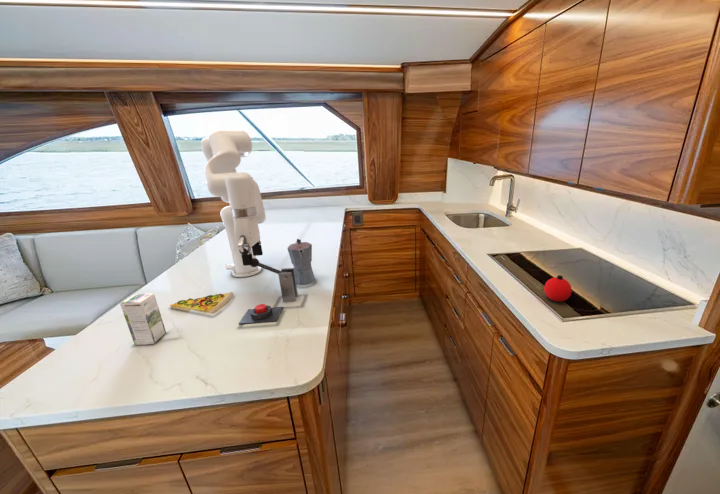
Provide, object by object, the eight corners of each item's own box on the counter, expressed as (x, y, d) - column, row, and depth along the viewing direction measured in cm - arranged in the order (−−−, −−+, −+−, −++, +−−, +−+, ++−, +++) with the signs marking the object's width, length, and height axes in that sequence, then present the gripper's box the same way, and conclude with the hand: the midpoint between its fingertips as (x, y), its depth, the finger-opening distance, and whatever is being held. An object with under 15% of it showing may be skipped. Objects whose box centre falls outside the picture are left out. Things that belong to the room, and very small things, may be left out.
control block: (239, 328, 97) (237, 318, 96) (249, 313, 105) (247, 304, 104) (277, 325, 98) (275, 315, 97) (284, 310, 106) (282, 302, 105)
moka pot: (295, 292, 119) (288, 245, 113) (290, 278, 132) (283, 235, 125) (319, 287, 123) (314, 241, 117) (311, 274, 136) (306, 232, 130)
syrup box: (148, 334, 94) (133, 293, 89) (167, 333, 95) (154, 292, 90) (134, 345, 89) (118, 303, 84) (155, 344, 89) (140, 302, 84)
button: (253, 314, 99) (252, 309, 98) (257, 308, 102) (256, 304, 101) (265, 313, 99) (264, 308, 98) (268, 307, 102) (267, 303, 102)
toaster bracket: (274, 308, 108) (268, 276, 104) (280, 296, 116) (275, 266, 112) (302, 306, 109) (297, 275, 105) (306, 295, 117) (302, 265, 113)
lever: (246, 266, 104) (249, 258, 104) (249, 263, 107) (252, 255, 107) (288, 282, 108) (291, 274, 107) (290, 278, 111) (293, 271, 110)
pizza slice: (218, 316, 104) (216, 308, 103) (156, 319, 102) (153, 312, 101) (237, 295, 118) (236, 288, 117) (183, 297, 117) (181, 290, 116)
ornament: (571, 308, 106) (576, 282, 102) (543, 303, 109) (547, 279, 105) (567, 296, 114) (572, 272, 110) (541, 292, 116) (545, 269, 113)
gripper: (242, 208, 107) (251, 252, 113) (221, 218, 91) (232, 270, 97) (263, 207, 108) (271, 251, 114) (246, 217, 92) (256, 268, 98)
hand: (253, 259), depth 105 cm, fingers open, 9 cm apart
